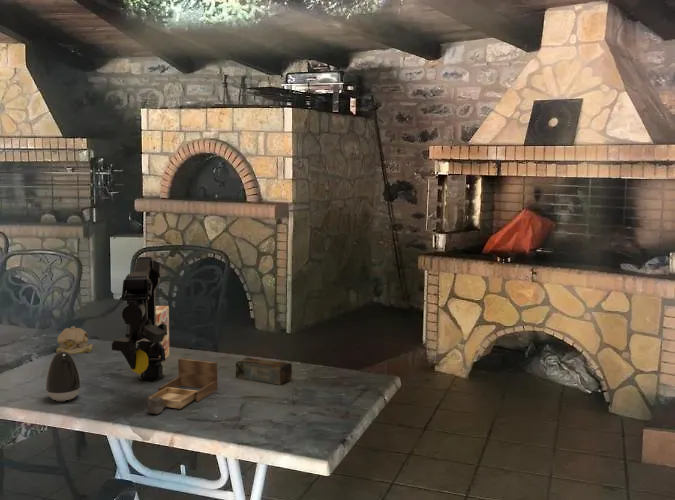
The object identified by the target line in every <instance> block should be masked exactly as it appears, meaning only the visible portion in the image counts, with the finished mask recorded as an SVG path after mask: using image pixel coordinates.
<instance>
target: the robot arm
mask: <svg viewBox="0 0 675 500" xmlns="http://www.w3.org/2000/svg"><path fill="white" fill-rule="evenodd" d="M162 274H163V273H162V266H161V263H159V262H158V261H157V260H155V259H154V257H151V256H139V257H136V262H135V263H134V268H133V271H132V272H131V273H128V274H127V275H126V276H125V279H123V281H122V291H121V301H122V302H123V301H126V305H125V307H124V308H123V309H122V313H121V317H122V319H123V322H124V324H125V325H128V327H127V328H128V331H127V332H126V333H125V337H124V338H123V337H121V338H117V339H114V340H113V341H112V342H111V344H110V345H111V350H112V351H117V352H118V351H119V352H120V353H122V355H123V357H124V358H125V360H126V362H127V363H128V365H129V367H130V369H131V370H132V369H135V367H136V353H137V352H138V350H139V349H140V350H142V351H144V352H145V353H146V354H147V356H148V367H147V369H146V370H145V371H144V372H142V373H141V374H140V377H138V381H139V380H140V381H147V382H148V381H149V382H156V381H158V380H160V379H162V378H164V377H165V374H164V373H163V372H164V371H163V364H162V363H164V362H165V361H166V359H165V349H164V348H163V345H162V344H161V341H163V339H164V336H165V335H167V325H166V324H164V323H162V324H160V325H159V326H157V325H156V306H157V305H156V289H157V288H158V286H159V284H160V280H161V279H162V276H163V275H162ZM159 356H161V357H159ZM161 362H162V363H161Z"/></svg>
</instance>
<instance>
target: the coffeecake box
mask: <svg viewBox="0 0 675 500" xmlns="http://www.w3.org/2000/svg"><path fill="white" fill-rule="evenodd" d="M169 308H170V307H169V305H156V325H157V326H159V325H160V324H162V323H164V324H166V325H167V335H165V336H164V339H163V341H161V344H162V345H163V348H164V349H165V360H166V359H167V358H168V357H169V356H170V315H169V314H170V312H169V310H170V309H169ZM159 357H161V356H159ZM162 363H163V362H161V364H162Z"/></svg>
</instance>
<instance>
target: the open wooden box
mask: <svg viewBox="0 0 675 500" xmlns="http://www.w3.org/2000/svg"><path fill="white" fill-rule="evenodd" d="M177 360H178V361H177V362H178V363H177V364H178V367H177V368H178V369H177V370H178V376H177V377H176V378H174V379H172V380H170V381H168V382H167V383H165V384H163V385H161V386H159V387H158V388H157V389H158V391H157V392H159V391H161V390H162V389H164V388H166V387H171V388H180V387H181V386H182V387H188V388H189V387H190V388H198V390H196V391H197V392H195V396H196V399H195V403H198V402H200V401H202V400H204V398H206V397H208V396H209V395H211V394H212V393H214V392H215V391H217V390H218V388H219V386H218V383H219V382H218V362H215V361H206V360H197V359H188V358H187V359H186V358H178V359H177Z"/></svg>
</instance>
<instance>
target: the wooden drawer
mask: <svg viewBox="0 0 675 500" xmlns="http://www.w3.org/2000/svg"><path fill="white" fill-rule="evenodd" d="M197 391H198V390H196V389H195V390H193V389H185V388H180V387H178V388H171V387H166V388H164V389H162V390H161V391H157V392H155V393H154V394H152V395H150V396H148V397H147V412H148V414H153V415H158V414H160V413H162V412H163V409H165V408H173V409H179V410H181V409H182V408H184V407H185V406H187V405H189V404H190V403H192V402H193V401H196V396H195V392H197Z"/></svg>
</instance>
